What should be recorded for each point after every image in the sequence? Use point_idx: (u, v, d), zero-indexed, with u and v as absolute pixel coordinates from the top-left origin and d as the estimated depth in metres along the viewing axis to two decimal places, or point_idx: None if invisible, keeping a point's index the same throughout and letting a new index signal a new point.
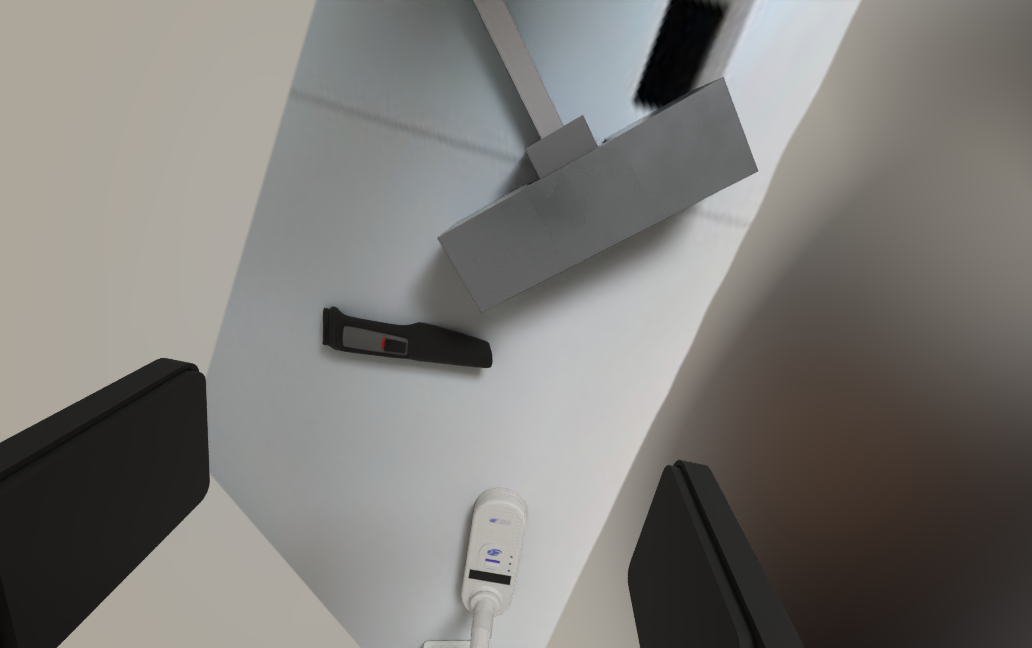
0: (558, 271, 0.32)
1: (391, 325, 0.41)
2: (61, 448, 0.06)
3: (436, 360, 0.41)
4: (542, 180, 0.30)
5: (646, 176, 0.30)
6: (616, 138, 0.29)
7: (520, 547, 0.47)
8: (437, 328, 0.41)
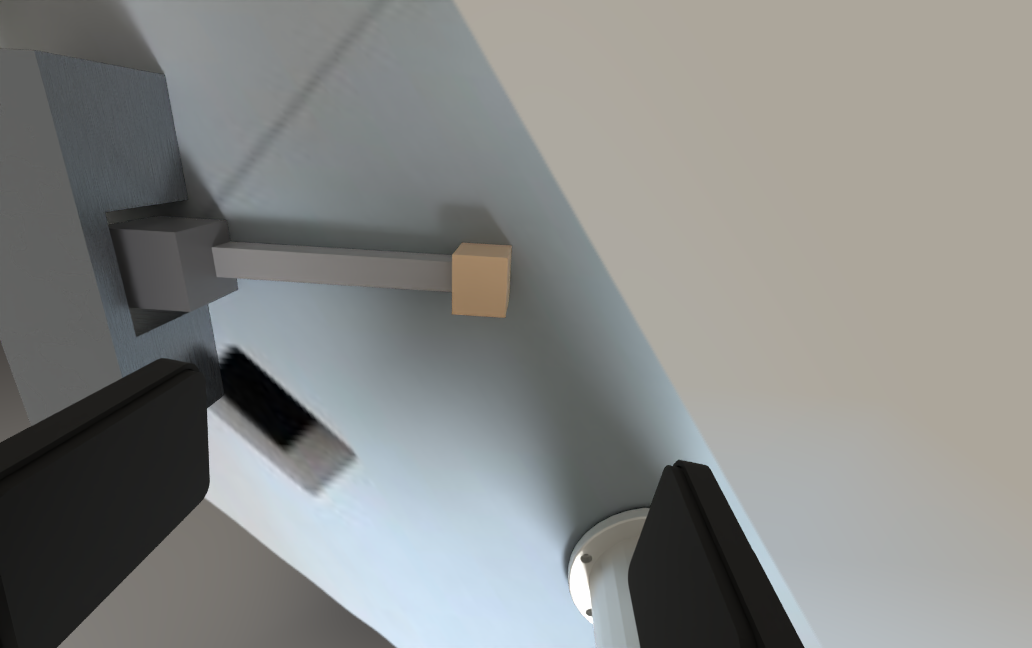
0: None
1: None
2: (61, 448, 0.06)
3: None
4: (84, 243, 0.22)
5: (60, 353, 0.24)
6: (112, 344, 0.24)
7: None
8: None
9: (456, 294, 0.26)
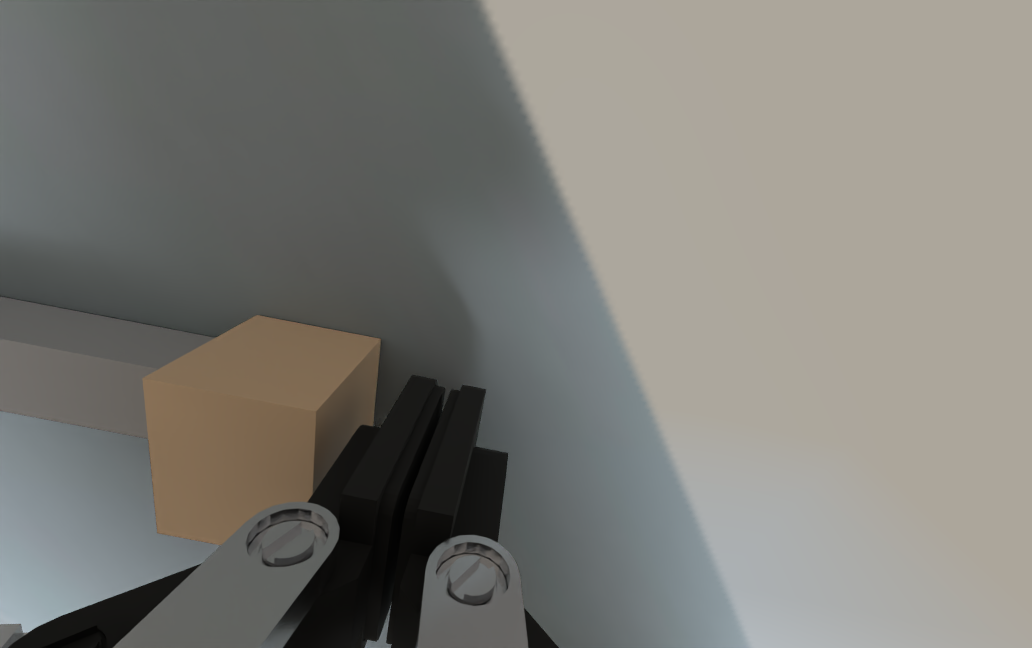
0: None
1: None
2: (405, 456, 0.08)
3: None
4: None
5: None
6: None
7: None
8: None
9: (165, 486, 0.09)
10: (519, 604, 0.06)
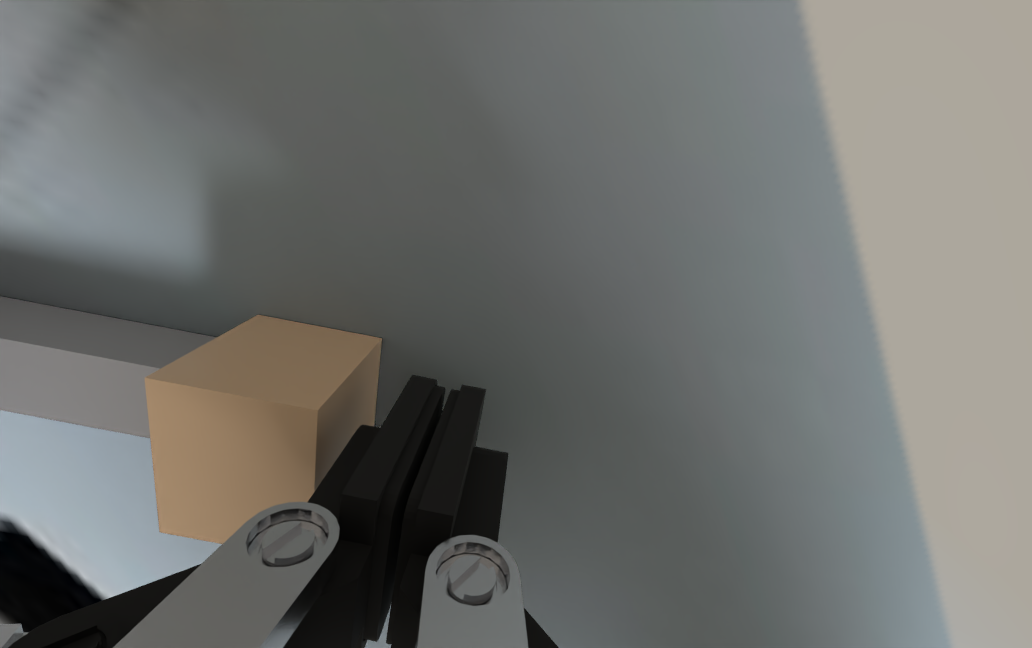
0: None
1: None
2: (405, 456, 0.08)
3: None
4: None
5: None
6: None
7: None
8: None
9: (167, 485, 0.09)
10: (519, 604, 0.06)
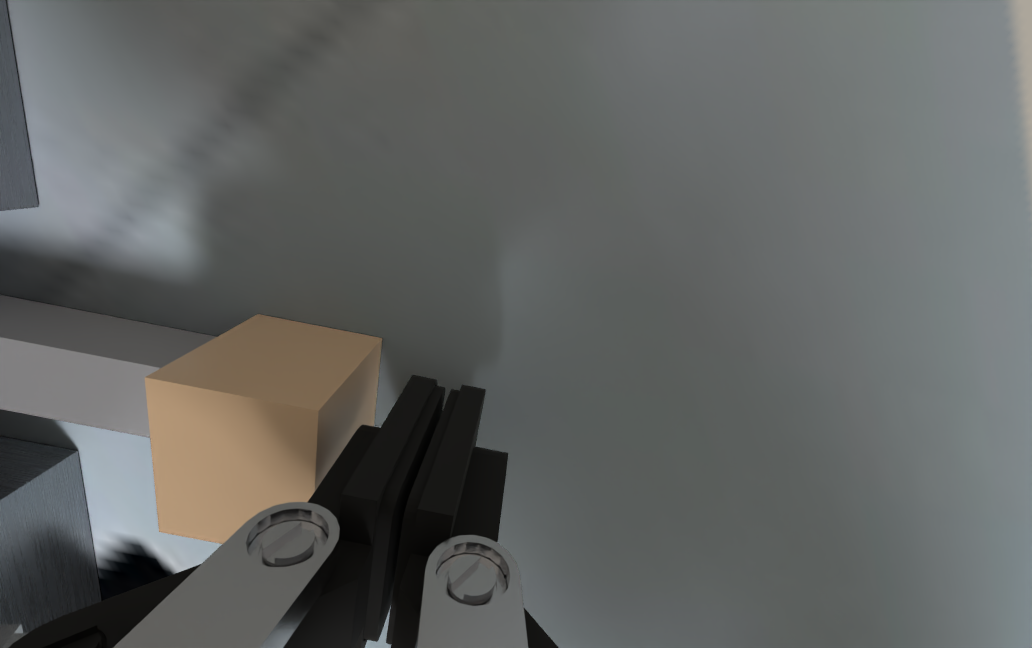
0: None
1: None
2: (405, 456, 0.08)
3: None
4: None
5: None
6: None
7: None
8: None
9: (167, 485, 0.09)
10: (519, 604, 0.06)
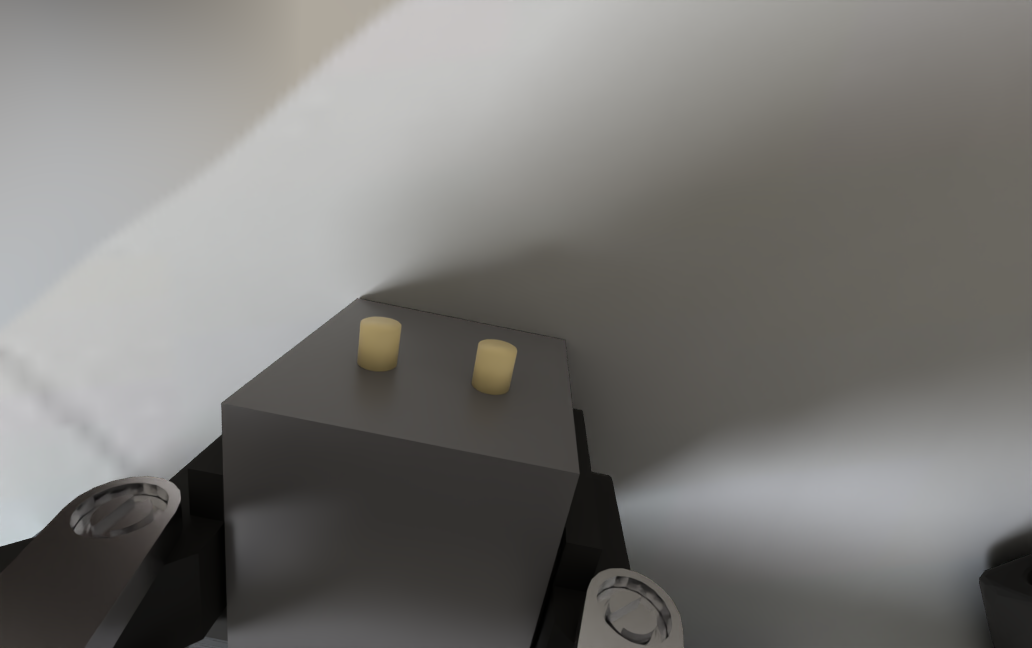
0: None
1: None
2: None
3: None
4: None
5: None
6: None
7: None
8: None
9: None
10: None
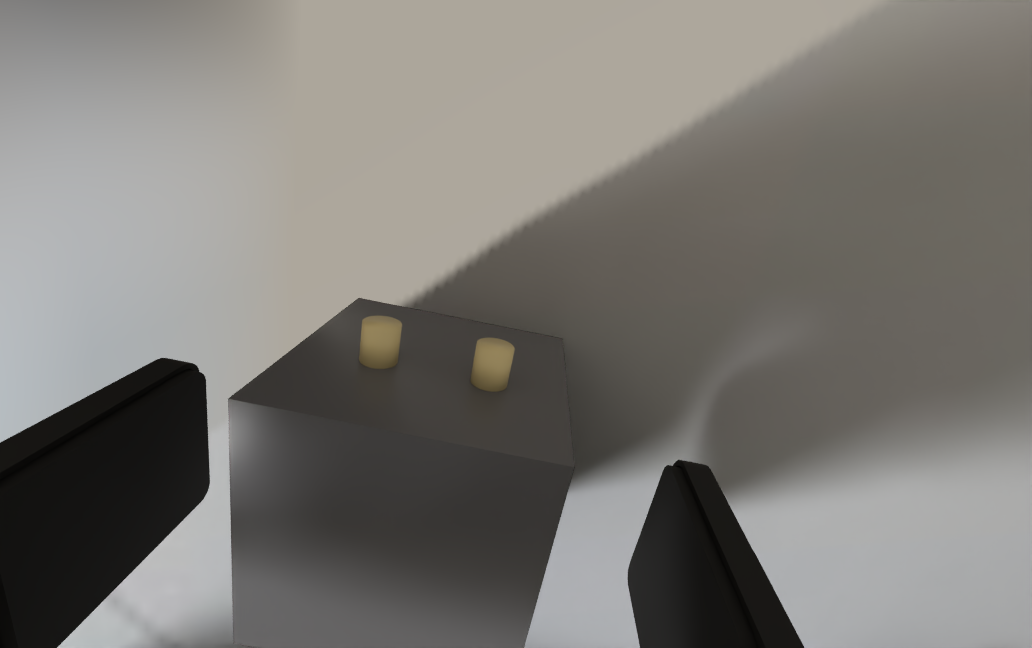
0: None
1: None
2: (61, 448, 0.06)
3: None
4: None
5: None
6: None
7: None
8: None
9: None
10: None
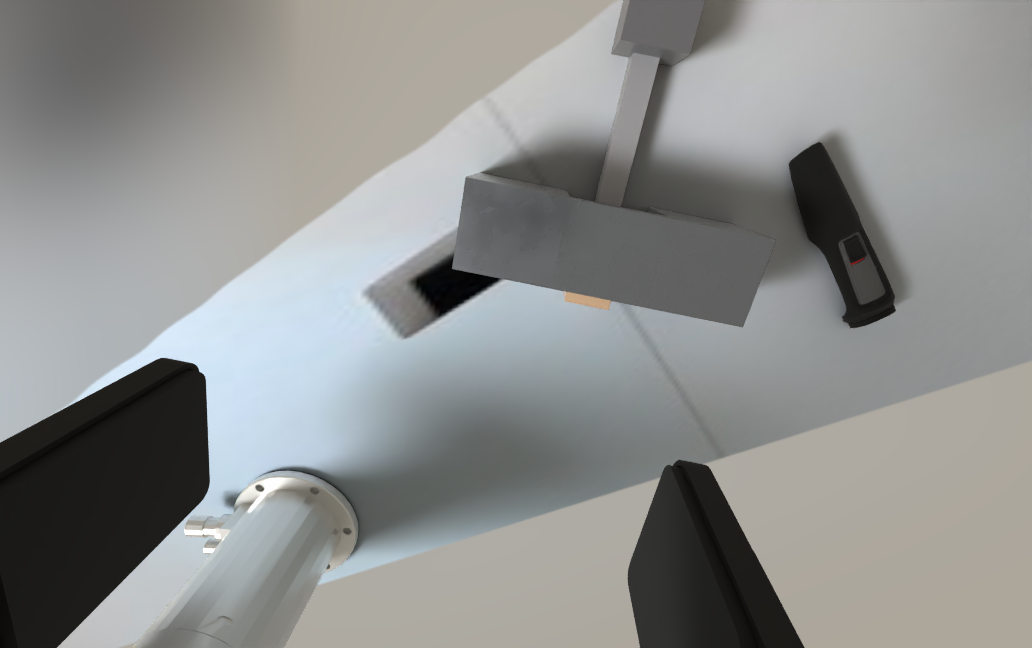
0: (680, 222, 0.30)
1: (831, 264, 0.36)
2: (61, 448, 0.06)
3: (846, 200, 0.34)
4: (627, 302, 0.32)
5: (551, 243, 0.31)
6: (552, 287, 0.32)
7: None
8: (806, 221, 0.36)
9: None
10: None
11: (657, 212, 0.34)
